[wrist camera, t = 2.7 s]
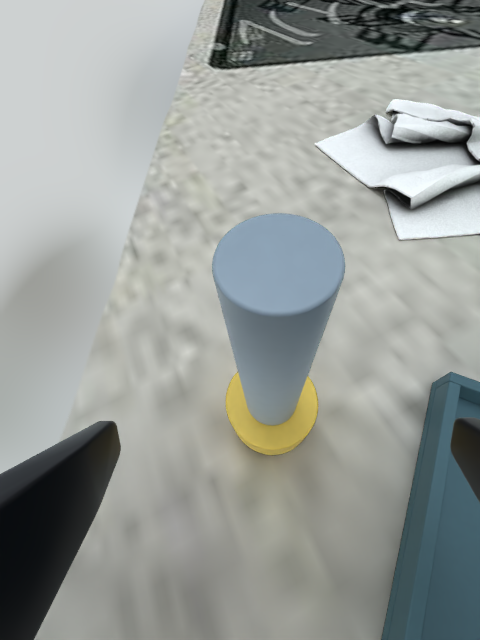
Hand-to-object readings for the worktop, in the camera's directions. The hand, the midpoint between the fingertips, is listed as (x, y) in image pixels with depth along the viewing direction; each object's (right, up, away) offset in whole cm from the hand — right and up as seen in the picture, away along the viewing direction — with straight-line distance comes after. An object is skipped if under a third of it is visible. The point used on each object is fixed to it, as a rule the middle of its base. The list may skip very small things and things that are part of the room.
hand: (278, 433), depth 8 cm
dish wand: (+1, -3, +10) cm, 10 cm away
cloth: (+17, +18, +20) cm, 32 cm away
